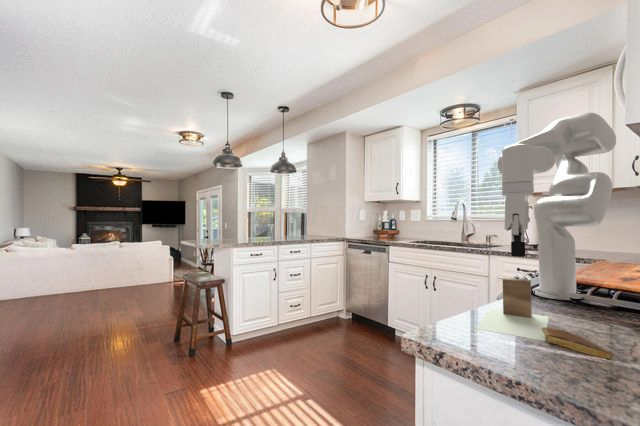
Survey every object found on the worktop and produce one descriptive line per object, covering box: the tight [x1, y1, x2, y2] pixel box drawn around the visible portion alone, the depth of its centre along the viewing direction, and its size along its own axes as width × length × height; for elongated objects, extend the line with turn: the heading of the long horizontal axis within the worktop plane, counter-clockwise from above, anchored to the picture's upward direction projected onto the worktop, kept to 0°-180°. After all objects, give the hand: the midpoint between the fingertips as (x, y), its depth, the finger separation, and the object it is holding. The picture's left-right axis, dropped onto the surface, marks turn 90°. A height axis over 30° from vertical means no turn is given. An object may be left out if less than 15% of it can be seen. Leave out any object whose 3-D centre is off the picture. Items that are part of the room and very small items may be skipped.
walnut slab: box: [502, 277, 533, 318], centre depth 83 cm, size 2×6×9 cm, turn 53°
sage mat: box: [476, 308, 549, 342], centre depth 78 cm, size 19×13×1 cm
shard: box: [541, 327, 615, 361], centre depth 63 cm, size 11×8×2 cm
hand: (518, 256), depth 89 cm, fingers closed
